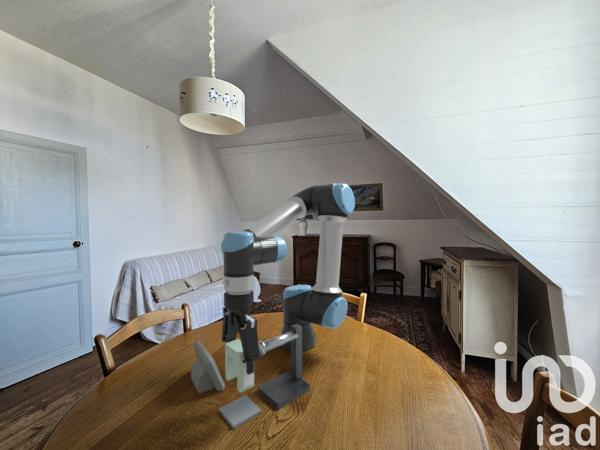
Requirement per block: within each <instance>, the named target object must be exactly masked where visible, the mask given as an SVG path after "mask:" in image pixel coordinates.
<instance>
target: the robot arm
mask: <svg viewBox="0 0 600 450" xmlns="http://www.w3.org/2000/svg"><path fill="white" fill-rule="evenodd" d="M355 206H356V200H355V194H354V192H353V190H352V188H351V187H350V185H348V184H347V183H337V182H335V183H330V184H322V185H320V184H319V185H311V186H309V187H306V188H304V189H303V190H301V191H299V192H297V193H295V194H294V195H292V196H291V197H289V198H288V199H287V201H286V202H285V203H284V204H283V205H281V206H280V207H278V208H276V209H275V210H273V211H272V212H270V213H269V214H267V215H265V216H264V217H263V218H261V219H259V220H258V221H257V222H254V223H253V224H251V225H250V226H249V227H247V228H246V229H244V230H242V231H227V232H226V233H224V235H223V239H222V241H221V244H220V249H221V253H222V254H223V281H222V284H223V290H224V291H225V292H224V293H223V306H224V307H223V308H222V311H223V312H222V314H223V315H222V316H223V317H222V331H221V342H223V343H224V344H225V343H227V342H230V341H233V340H236V339H237V335H238V334H239V339H240V340H241V344H242V349H243V354H244V359H245V360H243V361H242V362H243V387H244V388H245V387H247V386H249V385H251V384H253V383H254V384H255V361H258V360H260V357H261V356H260V355H259V346H258V341H259V337H258V318H257V317H254V318H252V317H251V312H250V309H251V307H252V306H254V304H255V300H254V298H255V297H254V291H253V290H254V288H255V287H254V284H255V283H254V281H255V280H254V266H255V267H256V266H260V265H265V264H273V263H276V262H280V261H282V260H284V259H285V258H286V256H287V250H288V249H287V248H288V246H287V244H286V243H287V242H286V241H285V240H284V238H282V237H280V236H276V235H277V234H279V233H281V232H282V231H284V230H285V228H287V227H288V226H290V225H291V224H292V223H294V222H295V221H297V220H298V219H299V220H300V219H303V218H305V217H307V216H309V215H317V219H318V220H319V221H320V231H319V233H320V234H319V243H318V244H319V245H318V257H317V267H316V280H315V285H313V286H311V285H309V284H296V285H291V286H287V287H285V288H284V290H283V292H282V293H283V294H282V319H283V321H282V327H281V330H280V334H279V335H281V334H284V333H287V332H289V331H291V326H292V325H295V324H299V325H301V326H302V352H303V351H308V350H310V349H312V348H314V347H315V346H316V343H317V336H316V334H315V330H314V327H313V324H314V325H316V326H321V327H322V328H326V329H327V328H328V329H330V330H331V329H332V330H334V329H337V328H339V327H340V326H341V325H342V324H343V322H344V321H345V320H346V316H347V312H348V308H349V307H348V305H349V304H348V301H347V299H346V298H345V297H343V290H342V289H341V288H340V286H339V284H340V274H341V273H340V272H341V259H342V257H341V256H342V247H343V231H344V224H345V222H347V221H348V219H349V218H348V217H349V215H350V214H352V213H353V212H354V209H355ZM280 348H282V349H284V350H287V351H290V352H291V342H289V343H286V344H284V345H281V346H280Z"/></svg>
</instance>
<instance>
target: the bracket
mask: <svg viewBox="0 0 600 450" xmlns="http://www.w3.org/2000/svg"><path fill="white" fill-rule="evenodd" d="M224 352H225V353H224V361H225V362H224V364H225V365H224V367H225V368H224V370H225V371H224V372H225V380H226V381H230V380H233V379H235V378H236V381H237V383H236V386H237V387H236V390H237V391H238V392H239V393H240V394H241V393H242V392H244V391H247V390H249V389H250V388H253V387H255V382H254V383H253V384H251V385H249V386H247V387H245V388H244V387H243V362H242V361H243V360H245V359H244V354H243V349H242V344H241V339H240V338H236V340H233V341H230V342H227V343H225V342H224Z"/></svg>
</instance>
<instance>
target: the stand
mask: <svg viewBox="0 0 600 450" xmlns="http://www.w3.org/2000/svg"><path fill="white" fill-rule="evenodd" d="M280 334H281V333H280ZM280 334H279V335H277V336H274V337H271V338H269V339H266V340H258V346H259V356H260V357H261V356H262V357H263V356H264V355H266V354H267V352H269V351H272V350H273V349H276V348H278V347H281V345H284V344H286V343H289V342H291V351H290V361H291V362H290V370H287V371H285V372H283V373H281V374H279V375H277V376H275V377H273V378H271V379H269V380H268V381H265V382H264V383H262V384H260V385H258V386H257V392H258V393H259V395H261V396H262V397H263V398H264V399H266V400H267V401H268V402H269V403H270V404H271V405H272V406H273V407H274V408H276V409H277V410H280V409H282V408H283V407H285V406H286V405H288V404H290V403H291V402H294V401H295V400H296V399H297V398H300V397H301V396H302V395H305V394H306V393H307V392H309V391H311V384H310V383H309V382H307V381H305V380H304V379H303V351H302V326H301V325H299V324H295V325H292V326H291V331H289V332H287V333H284V334H281V335H280Z"/></svg>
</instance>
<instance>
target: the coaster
mask: <svg viewBox="0 0 600 450" xmlns="http://www.w3.org/2000/svg"><path fill="white" fill-rule="evenodd" d="M218 412H219V414H221V416H222V417H223V418H224V419H225V421H226V422H227V424H229V425H230V427H231V428H232V429H233V430H235V429H237V428H239V427H240V426H242V425H244V424H245V423H247V422H249V421H251V420H253V419H254V418H255V417H257V416H259V415H261V414H262V409H261V408H260V407H259V406H258V405H257V404H256V403H255V402H254V401H253V400H251V398H250V397H248V395H247V394H245V395H243V396H241V397H239V398H237V399H235V400H233V401H232V402H229V403H227V404H226V405H223V406H222V407H220V408H218Z"/></svg>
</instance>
